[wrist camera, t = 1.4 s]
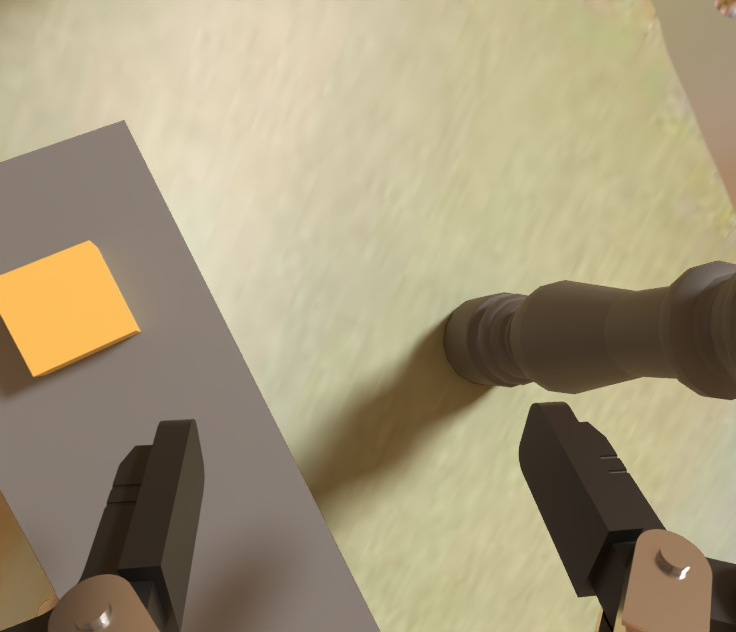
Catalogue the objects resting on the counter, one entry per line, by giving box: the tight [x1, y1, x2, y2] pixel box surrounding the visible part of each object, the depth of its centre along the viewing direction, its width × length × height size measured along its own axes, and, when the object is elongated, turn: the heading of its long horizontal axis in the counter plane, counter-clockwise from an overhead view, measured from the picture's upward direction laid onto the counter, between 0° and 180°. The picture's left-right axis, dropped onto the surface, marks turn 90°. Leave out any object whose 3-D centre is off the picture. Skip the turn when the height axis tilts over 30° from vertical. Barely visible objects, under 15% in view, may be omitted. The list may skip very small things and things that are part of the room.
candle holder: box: [444, 261, 736, 400], centre depth 26 cm, size 6×6×25 cm
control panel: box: [0, 120, 380, 632], centre depth 24 cm, size 8×22×17 cm, turn 27°
